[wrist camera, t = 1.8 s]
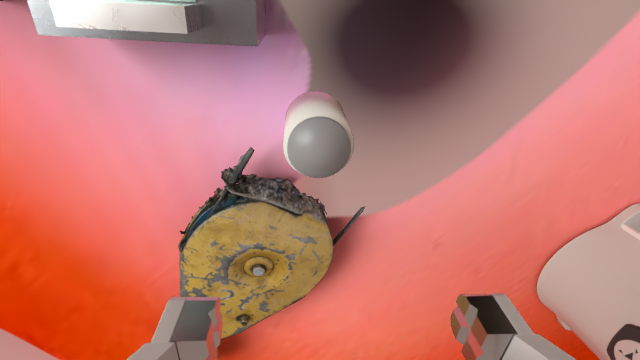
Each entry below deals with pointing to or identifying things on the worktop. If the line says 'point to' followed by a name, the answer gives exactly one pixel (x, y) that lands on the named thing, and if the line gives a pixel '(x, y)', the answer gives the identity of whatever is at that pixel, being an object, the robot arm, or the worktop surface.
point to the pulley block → (255, 247)
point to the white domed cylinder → (317, 135)
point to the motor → (153, 20)
